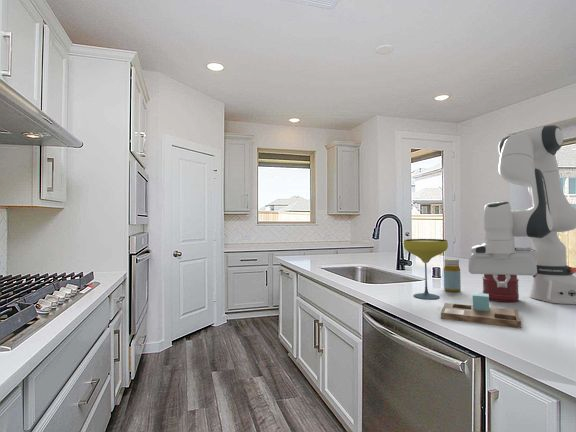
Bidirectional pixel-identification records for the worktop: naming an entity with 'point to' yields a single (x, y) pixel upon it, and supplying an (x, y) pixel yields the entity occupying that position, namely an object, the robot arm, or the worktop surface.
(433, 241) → the cocktail glass
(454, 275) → the bottle
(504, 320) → the board
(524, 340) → the worktop surface
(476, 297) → the teal block
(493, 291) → the canister
